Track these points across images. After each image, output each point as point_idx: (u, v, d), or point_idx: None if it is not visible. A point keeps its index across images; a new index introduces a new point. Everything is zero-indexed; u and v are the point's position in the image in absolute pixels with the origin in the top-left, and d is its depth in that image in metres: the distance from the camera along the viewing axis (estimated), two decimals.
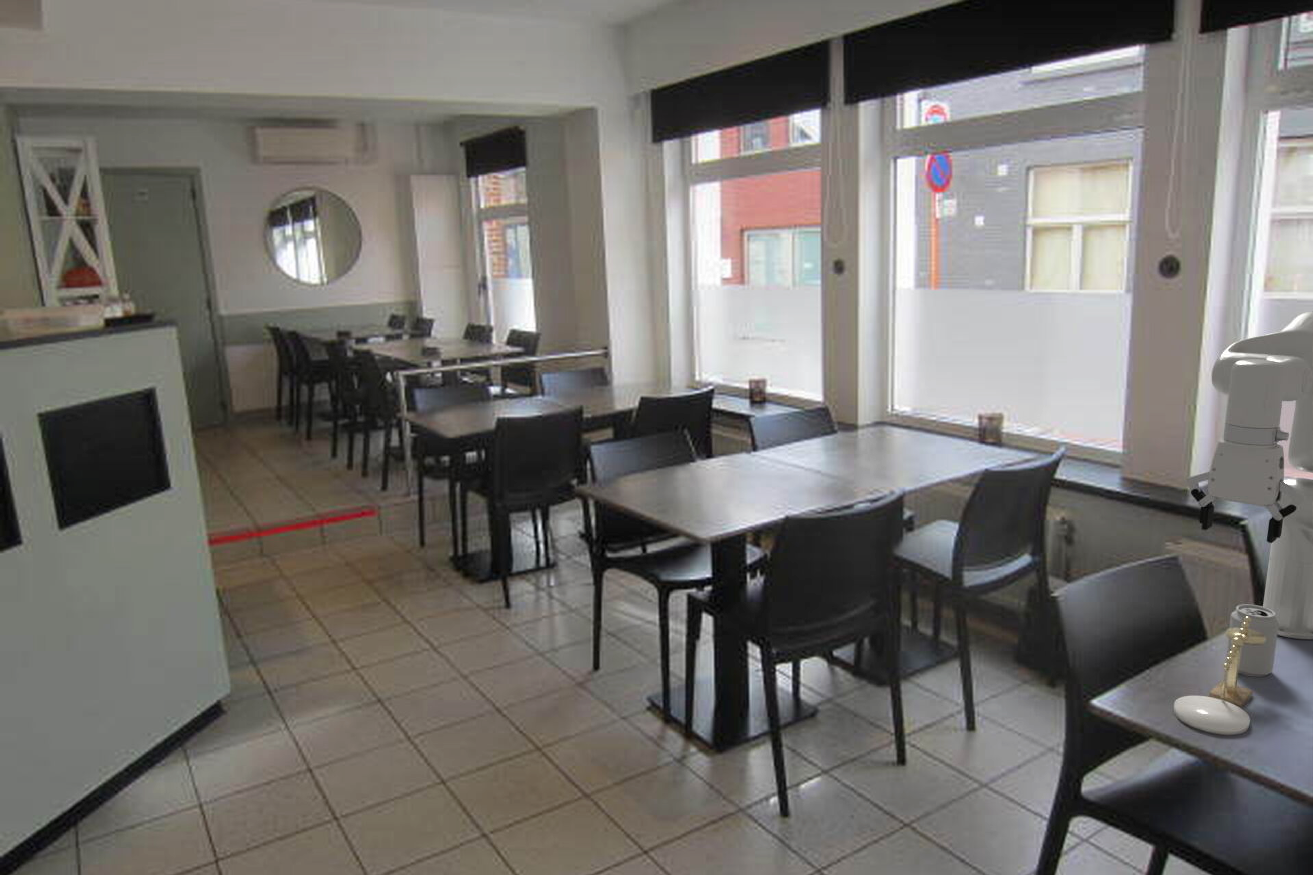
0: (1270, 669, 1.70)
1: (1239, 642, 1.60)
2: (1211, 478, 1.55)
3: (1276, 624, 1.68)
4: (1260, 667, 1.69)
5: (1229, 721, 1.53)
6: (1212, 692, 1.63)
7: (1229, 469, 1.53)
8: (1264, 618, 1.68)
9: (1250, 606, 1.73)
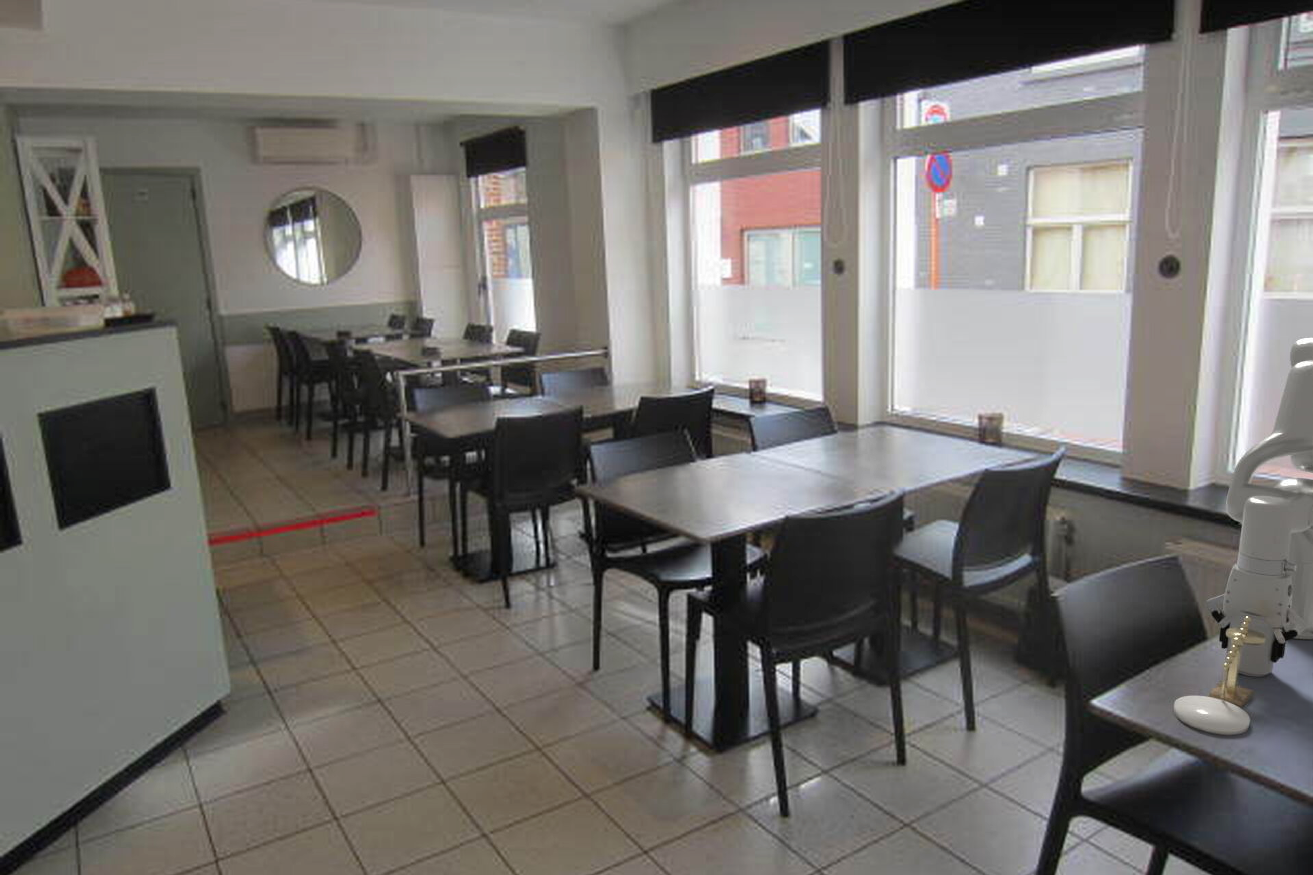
0: (1270, 669, 1.70)
1: (1239, 642, 1.60)
2: (1226, 600, 1.72)
3: None
4: (1260, 667, 1.69)
5: (1229, 721, 1.53)
6: (1212, 692, 1.63)
7: (1242, 593, 1.69)
8: None
9: None
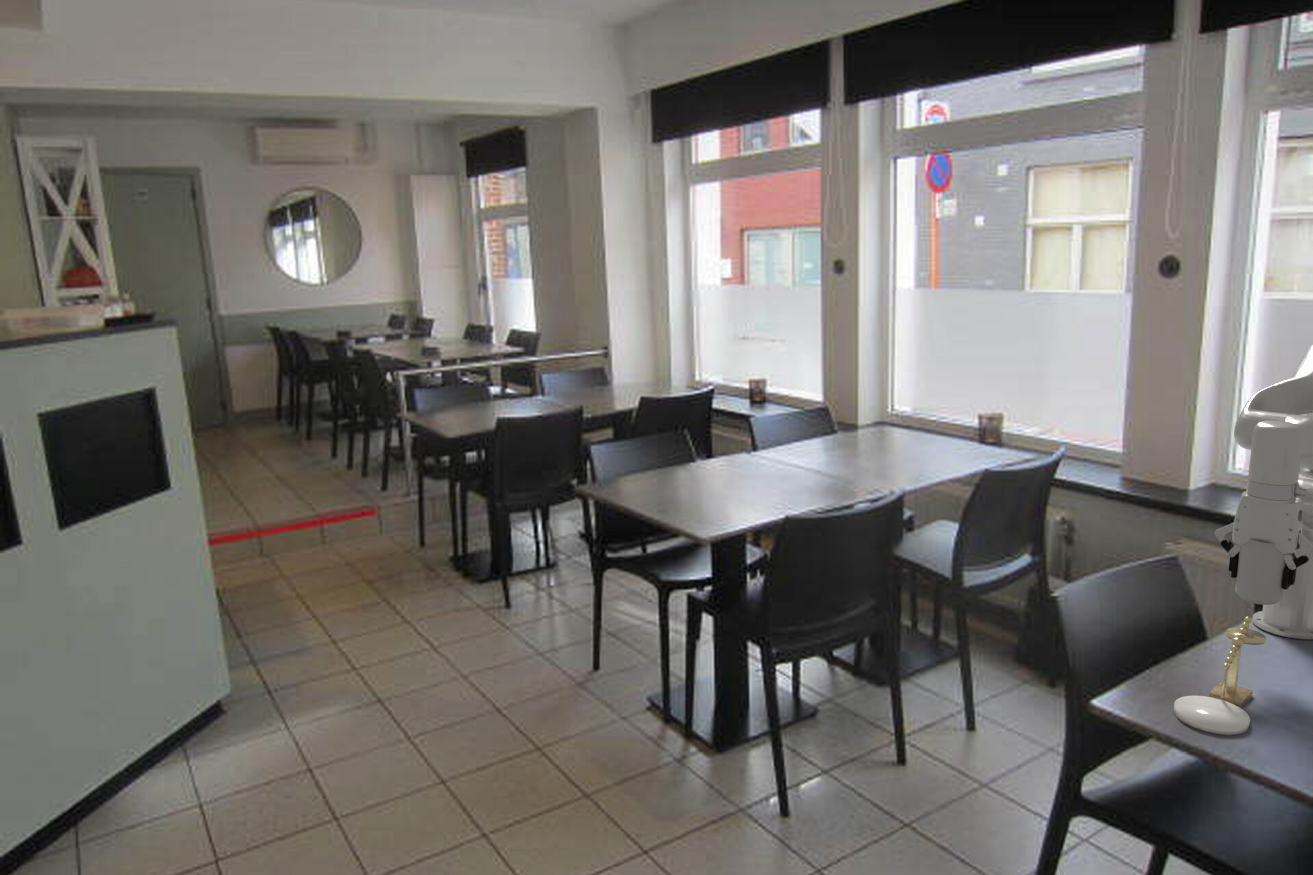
0: (1280, 597, 1.67)
1: (1239, 642, 1.60)
2: (1235, 528, 1.69)
3: None
4: (1270, 595, 1.66)
5: (1229, 721, 1.53)
6: (1212, 692, 1.63)
7: (1252, 520, 1.67)
8: (1274, 544, 1.65)
9: None
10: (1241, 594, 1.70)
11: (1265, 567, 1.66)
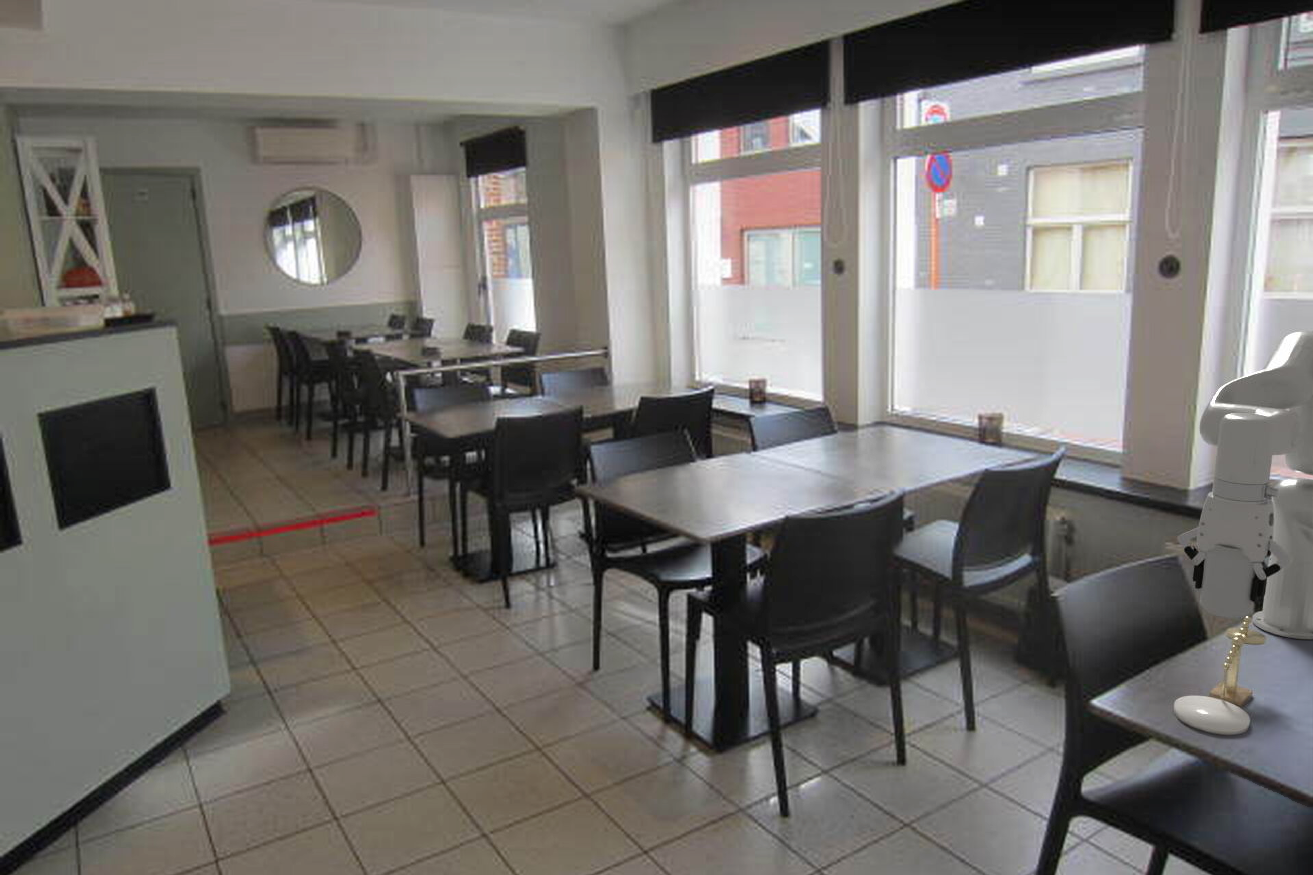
0: (1249, 610, 1.50)
1: (1239, 642, 1.60)
2: (1200, 532, 1.52)
3: None
4: (1238, 607, 1.49)
5: (1229, 721, 1.53)
6: (1212, 692, 1.63)
7: (1218, 524, 1.49)
8: (1242, 551, 1.48)
9: None
10: (1206, 606, 1.52)
11: (1232, 576, 1.48)
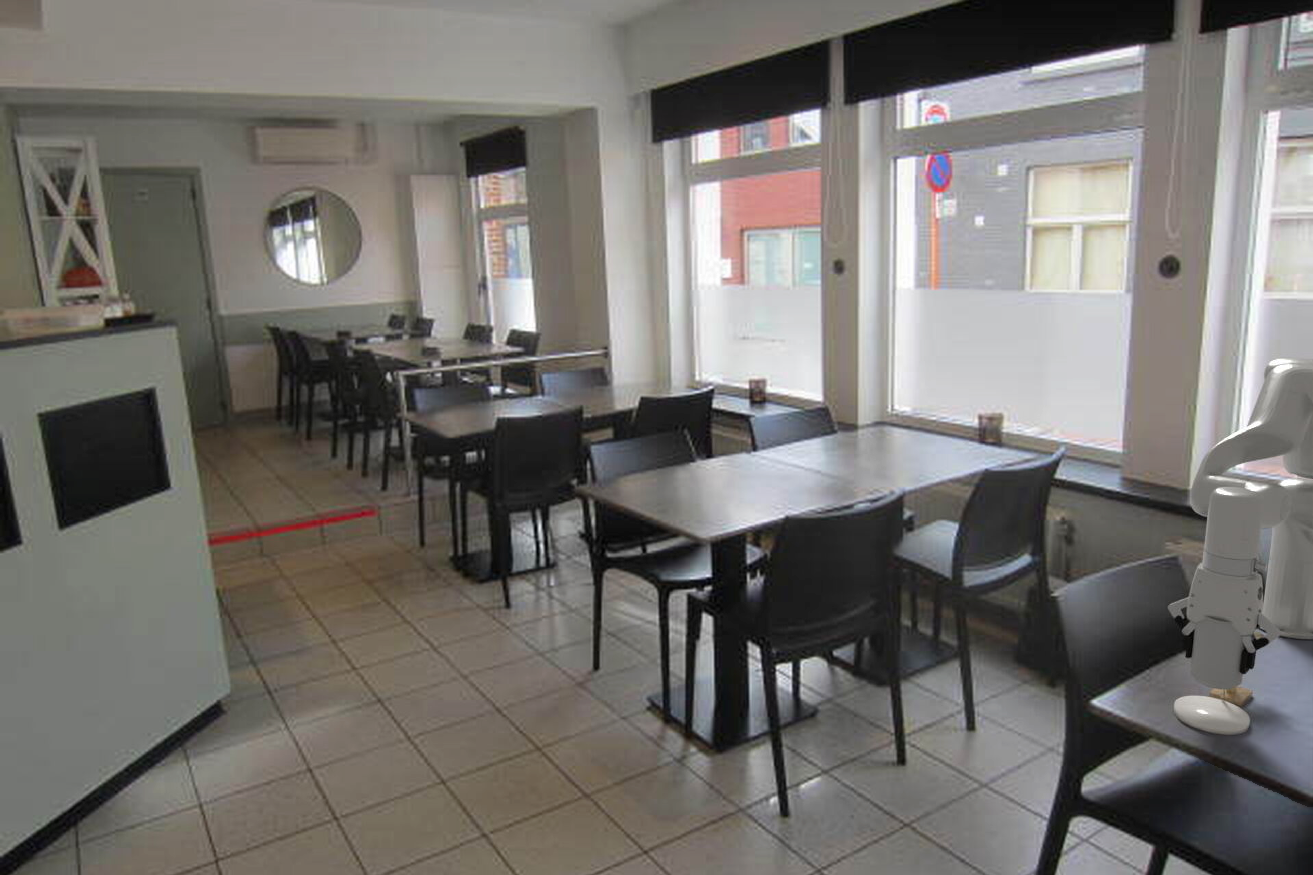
0: (1239, 681, 1.51)
1: None
2: (1190, 603, 1.54)
3: None
4: (1227, 679, 1.51)
5: (1229, 721, 1.53)
6: (1212, 692, 1.63)
7: (1208, 597, 1.51)
8: None
9: None
10: (1196, 676, 1.54)
11: (1222, 649, 1.50)
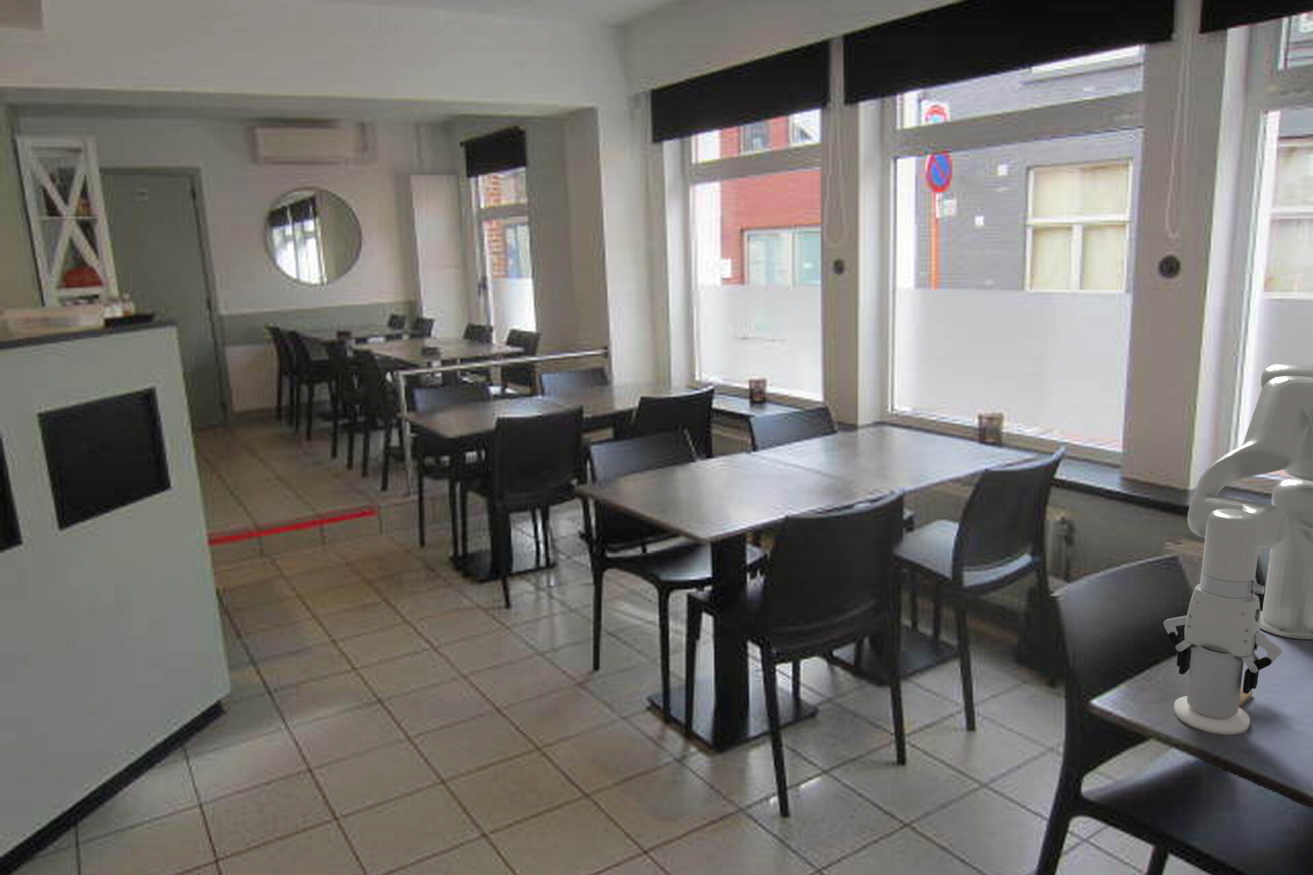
0: (1235, 710, 1.53)
1: None
2: (1188, 624, 1.54)
3: (1241, 661, 1.51)
4: (1224, 709, 1.52)
5: (1229, 721, 1.53)
6: None
7: (1205, 618, 1.52)
8: (1227, 655, 1.50)
9: None
10: (1193, 706, 1.55)
11: (1218, 680, 1.51)
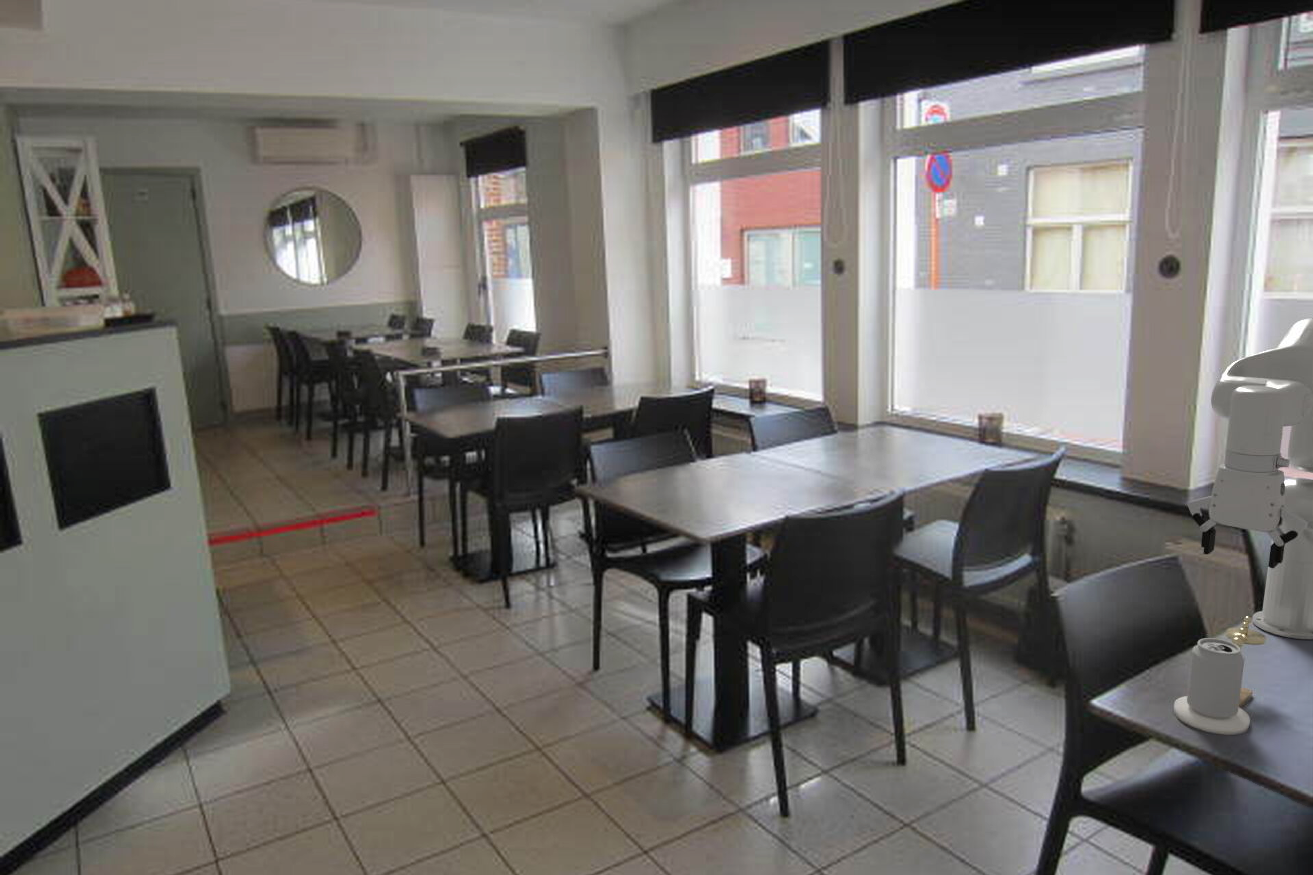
0: (1235, 711, 1.53)
1: (1239, 642, 1.60)
2: (1212, 503, 1.55)
3: (1241, 661, 1.51)
4: (1224, 709, 1.52)
5: (1229, 721, 1.53)
6: None
7: (1230, 495, 1.53)
8: (1228, 654, 1.51)
9: (1213, 640, 1.56)
10: (1193, 706, 1.55)
11: (1218, 679, 1.51)
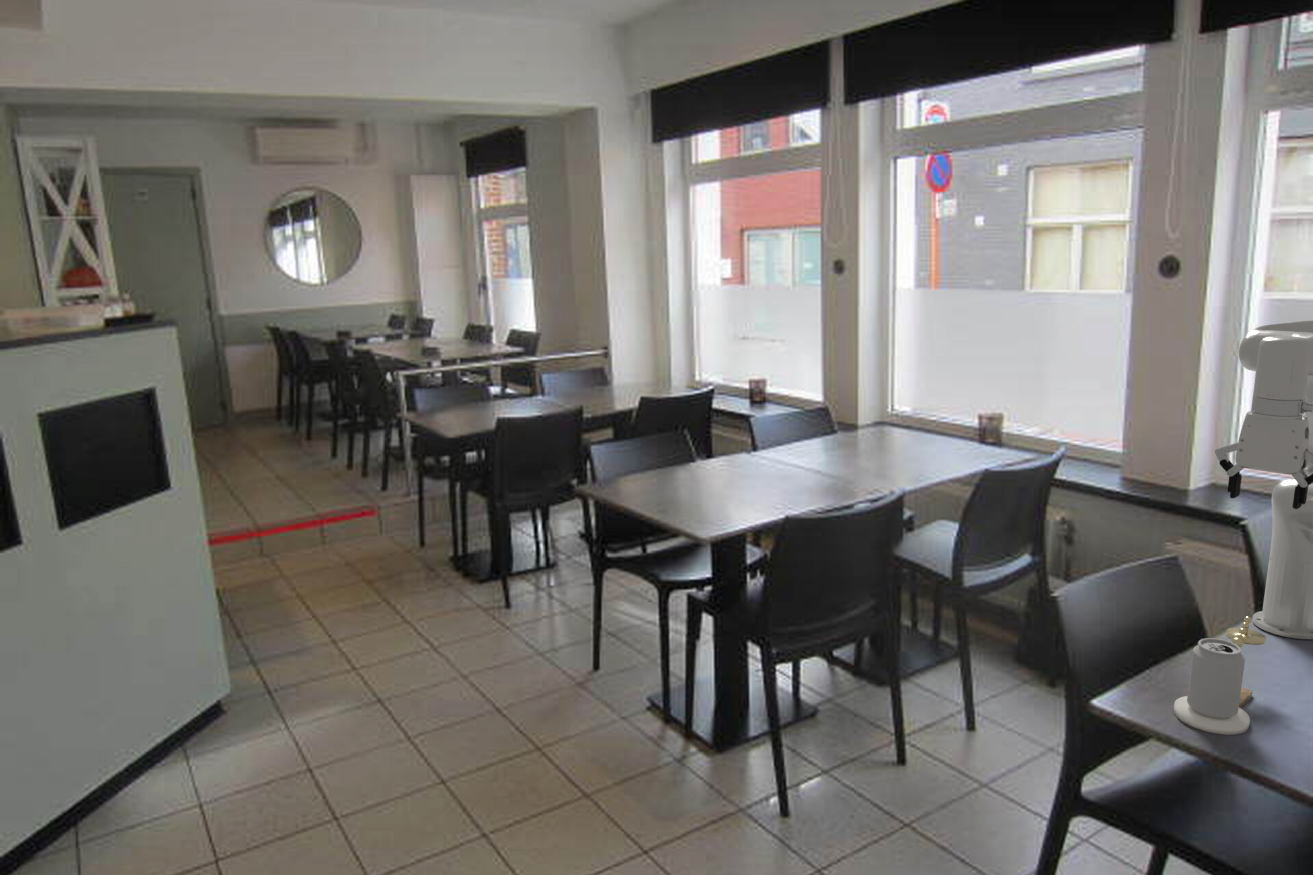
0: (1235, 711, 1.53)
1: (1239, 642, 1.60)
2: (1239, 449, 1.64)
3: (1242, 661, 1.51)
4: (1224, 709, 1.52)
5: (1229, 721, 1.53)
6: None
7: (1257, 440, 1.61)
8: (1229, 655, 1.51)
9: (1214, 640, 1.56)
10: (1193, 706, 1.55)
11: (1219, 680, 1.51)
